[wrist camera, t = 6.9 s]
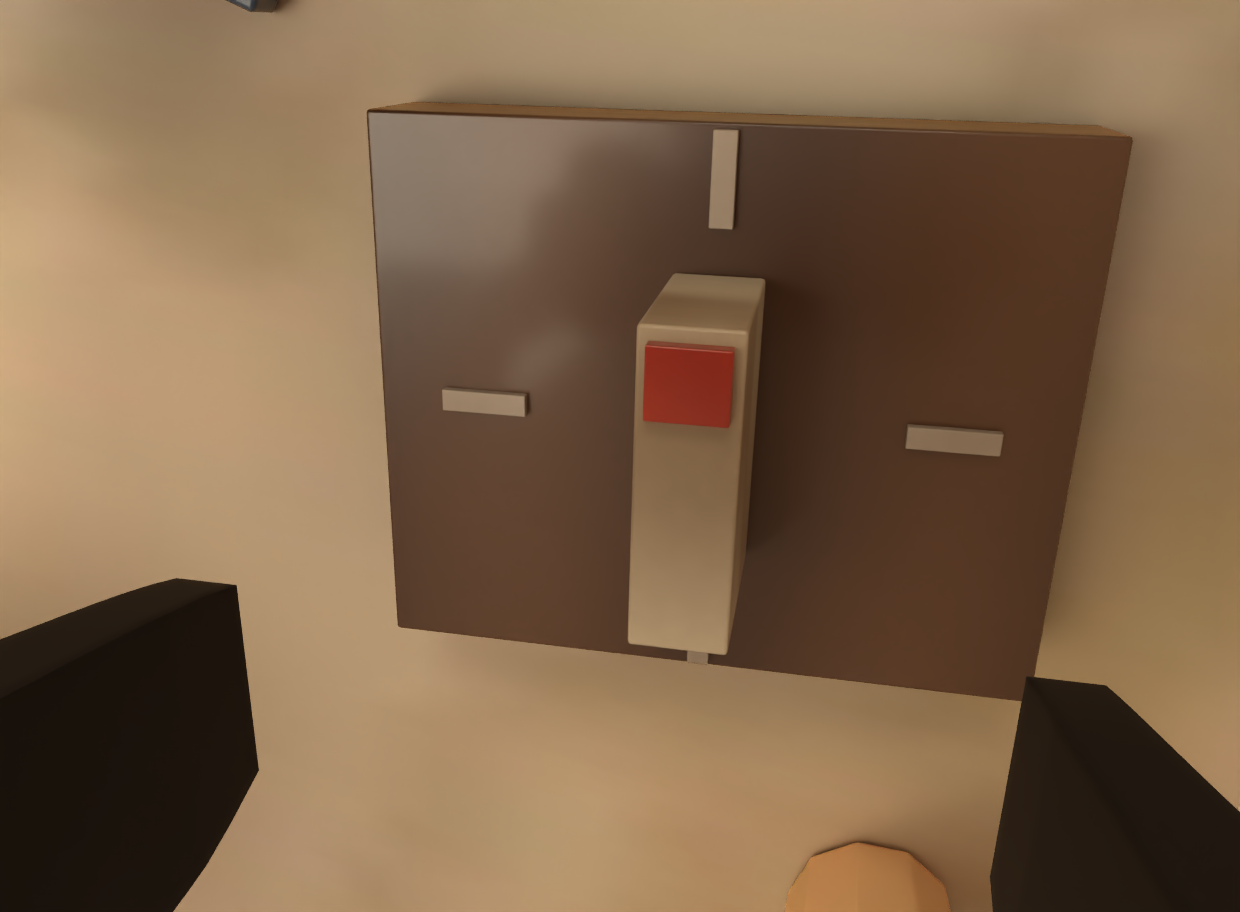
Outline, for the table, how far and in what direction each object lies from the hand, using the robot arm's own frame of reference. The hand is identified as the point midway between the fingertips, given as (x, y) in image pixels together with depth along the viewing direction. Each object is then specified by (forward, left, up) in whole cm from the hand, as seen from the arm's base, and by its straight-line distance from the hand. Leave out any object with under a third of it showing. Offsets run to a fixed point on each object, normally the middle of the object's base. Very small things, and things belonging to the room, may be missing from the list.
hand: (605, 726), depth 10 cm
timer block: (0, 0, -10) cm, 10 cm away
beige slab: (0, 0, -8) cm, 8 cm away
